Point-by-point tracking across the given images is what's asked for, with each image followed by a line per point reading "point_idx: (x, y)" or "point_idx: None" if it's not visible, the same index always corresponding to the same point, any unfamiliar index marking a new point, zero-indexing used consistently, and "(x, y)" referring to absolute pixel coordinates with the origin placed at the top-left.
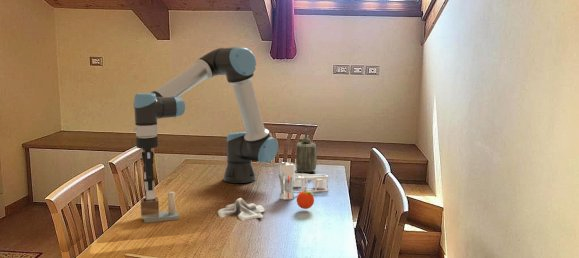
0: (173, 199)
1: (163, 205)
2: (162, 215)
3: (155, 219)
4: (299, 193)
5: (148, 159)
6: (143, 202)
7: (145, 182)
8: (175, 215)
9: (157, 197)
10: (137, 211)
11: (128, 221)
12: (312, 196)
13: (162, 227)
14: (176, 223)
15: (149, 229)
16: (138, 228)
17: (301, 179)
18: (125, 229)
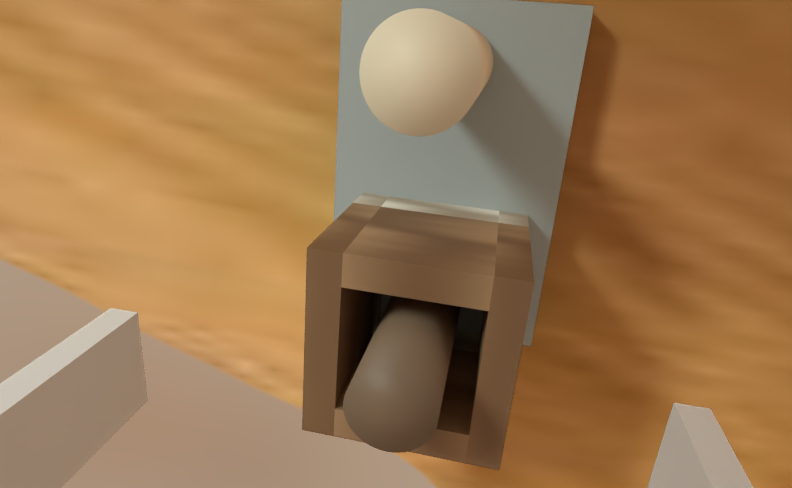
0: (482, 45)
1: (55, 72)
2: (481, 170)
3: (548, 248)
4: None
5: None
6: (502, 445)
7: (67, 467)
8: (550, 37)
9: (335, 253)
10: (186, 313)
11: None
12: None
13: (769, 219)
14: (722, 59)
15: (753, 333)
16: (665, 401)
17: None
18: (632, 481)
